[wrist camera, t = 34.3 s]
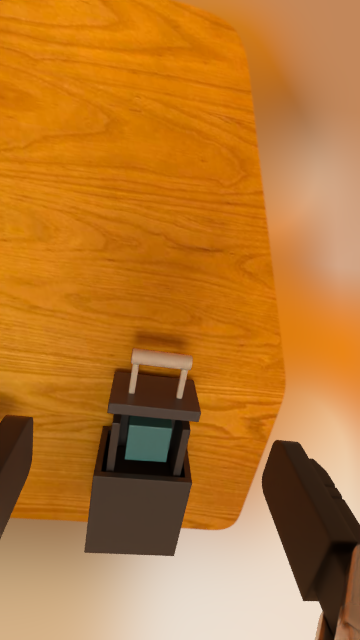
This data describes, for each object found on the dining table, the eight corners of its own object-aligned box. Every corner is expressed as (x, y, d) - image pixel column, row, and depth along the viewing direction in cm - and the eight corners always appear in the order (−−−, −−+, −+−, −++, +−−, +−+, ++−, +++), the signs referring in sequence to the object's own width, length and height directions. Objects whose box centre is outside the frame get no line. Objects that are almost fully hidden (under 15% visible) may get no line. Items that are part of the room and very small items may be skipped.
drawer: (120, 331, 36) (114, 357, 31) (202, 342, 38) (211, 369, 32) (105, 444, 42) (98, 484, 36) (178, 450, 43) (182, 490, 37)
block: (131, 399, 38) (129, 425, 34) (170, 403, 39) (172, 428, 35) (127, 431, 40) (124, 459, 36) (164, 434, 41) (166, 462, 36)
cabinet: (103, 425, 42) (93, 476, 34) (185, 433, 43) (192, 483, 36) (94, 494, 45) (84, 552, 38) (170, 499, 47) (173, 556, 40)
